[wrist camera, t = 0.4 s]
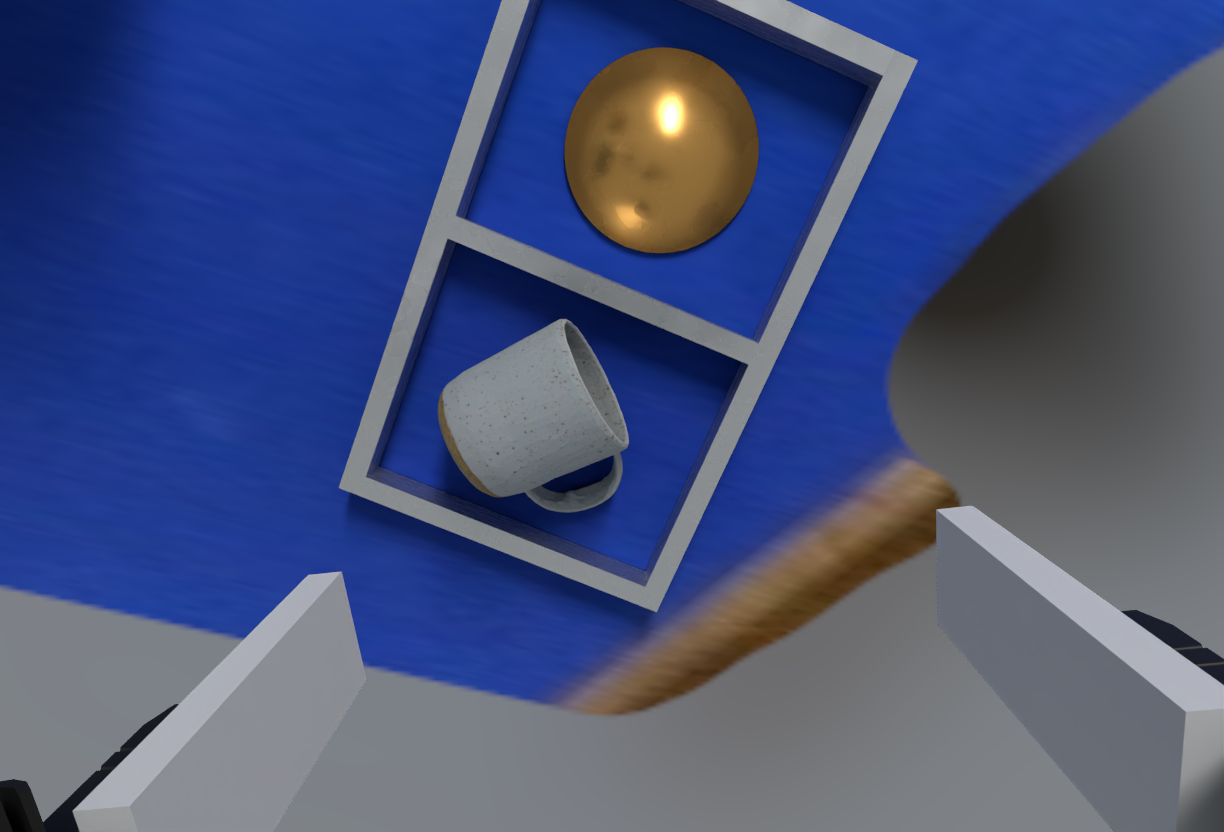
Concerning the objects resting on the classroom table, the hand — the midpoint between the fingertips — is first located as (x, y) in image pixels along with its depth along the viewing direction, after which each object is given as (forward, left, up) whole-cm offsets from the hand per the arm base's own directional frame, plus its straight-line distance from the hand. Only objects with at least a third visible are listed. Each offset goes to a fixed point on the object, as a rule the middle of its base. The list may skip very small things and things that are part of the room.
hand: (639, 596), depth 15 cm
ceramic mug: (-3, -3, -24) cm, 24 cm away
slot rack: (-4, +5, -24) cm, 24 cm away
